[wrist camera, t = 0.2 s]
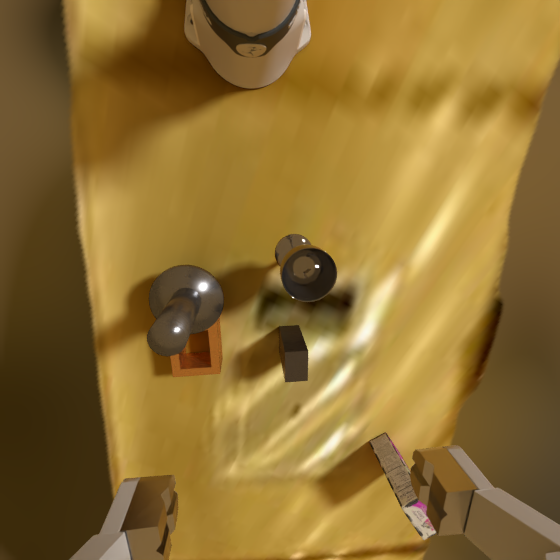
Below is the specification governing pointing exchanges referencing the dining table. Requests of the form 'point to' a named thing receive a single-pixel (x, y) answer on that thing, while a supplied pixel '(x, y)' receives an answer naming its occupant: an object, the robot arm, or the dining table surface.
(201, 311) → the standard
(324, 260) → the wine glass
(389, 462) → the candy bar box
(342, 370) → the dining table surface
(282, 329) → the dark brown upright block
